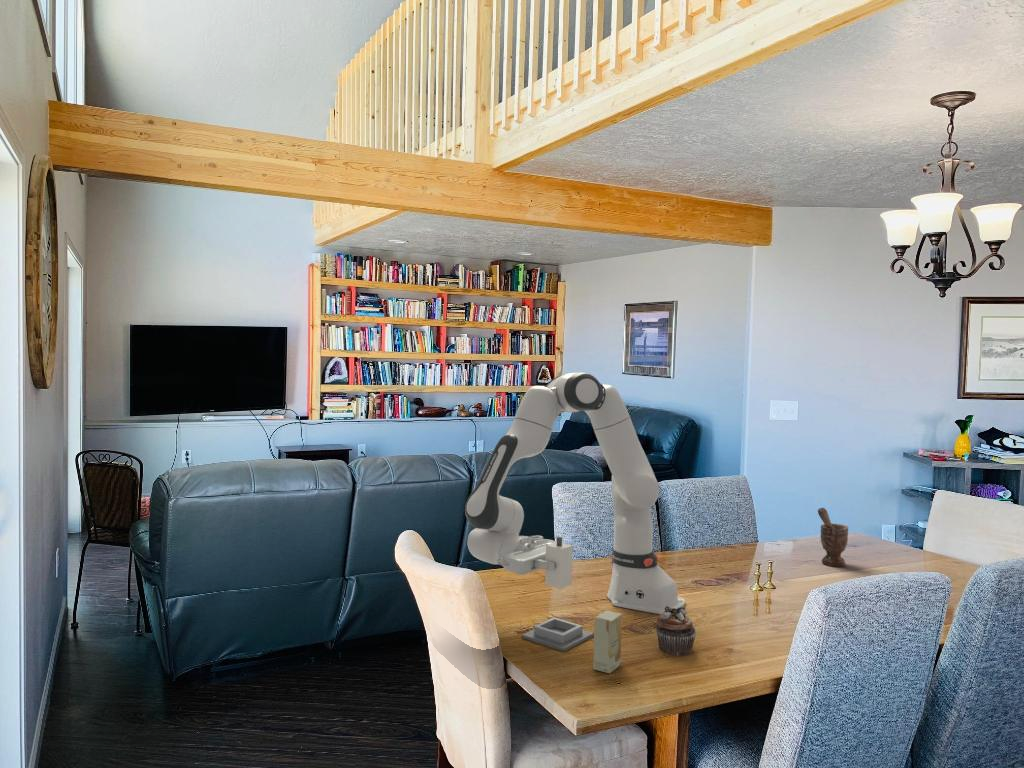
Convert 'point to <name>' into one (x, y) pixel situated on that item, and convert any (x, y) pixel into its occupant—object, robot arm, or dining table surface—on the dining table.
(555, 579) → the plug
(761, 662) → the dining table surface
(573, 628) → the socket plate
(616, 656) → the skincare box
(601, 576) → the dining table surface
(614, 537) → the robot arm
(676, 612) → the cupcake
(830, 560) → the mortar and pestle
